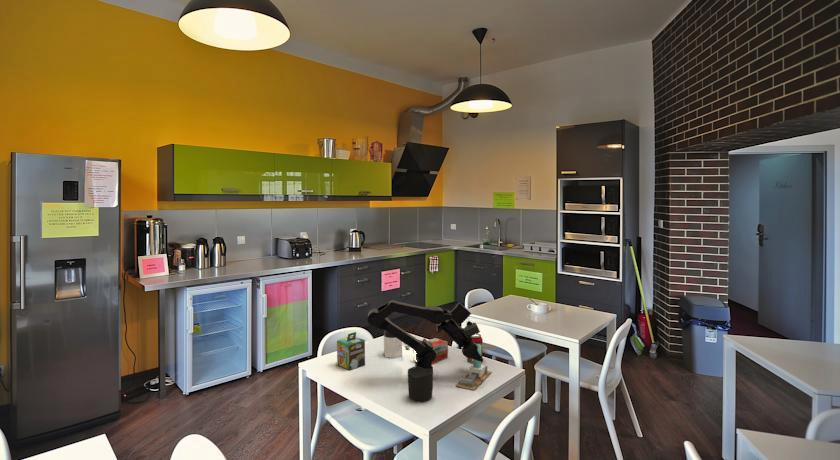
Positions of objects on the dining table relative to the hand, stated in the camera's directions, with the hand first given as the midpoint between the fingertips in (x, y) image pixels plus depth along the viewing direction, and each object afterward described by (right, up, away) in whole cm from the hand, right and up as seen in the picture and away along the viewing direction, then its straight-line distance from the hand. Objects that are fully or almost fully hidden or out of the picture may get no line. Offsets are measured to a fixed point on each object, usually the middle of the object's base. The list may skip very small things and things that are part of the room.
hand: (480, 357), depth 184 cm
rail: (-3, -8, -3) cm, 9 cm away
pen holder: (-25, -10, -19) cm, 33 cm away
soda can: (0, -7, +18) cm, 19 cm away
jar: (-38, -7, +26) cm, 46 cm away
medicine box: (-20, -7, +20) cm, 29 cm away
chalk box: (-55, -8, +13) cm, 57 cm away
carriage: (-1, -8, 0) cm, 8 cm away
